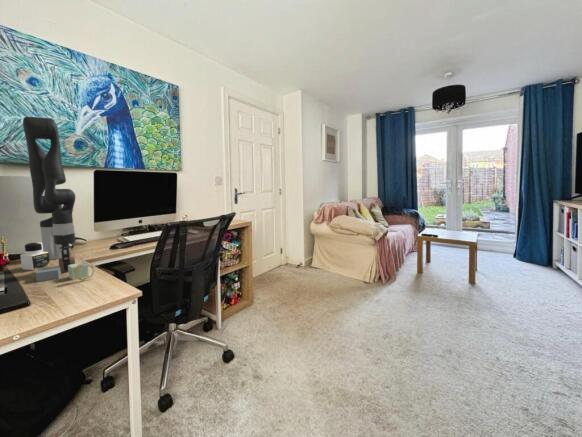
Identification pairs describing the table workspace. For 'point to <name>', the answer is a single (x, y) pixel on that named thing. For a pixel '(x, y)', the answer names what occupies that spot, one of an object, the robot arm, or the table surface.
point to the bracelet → (82, 266)
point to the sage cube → (80, 273)
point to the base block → (48, 273)
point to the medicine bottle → (34, 257)
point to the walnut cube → (61, 264)
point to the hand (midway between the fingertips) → (67, 268)
